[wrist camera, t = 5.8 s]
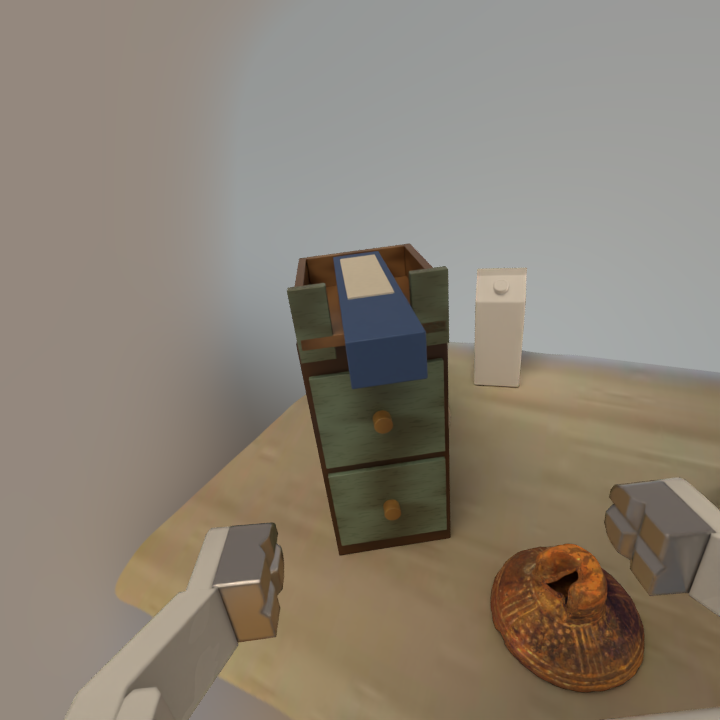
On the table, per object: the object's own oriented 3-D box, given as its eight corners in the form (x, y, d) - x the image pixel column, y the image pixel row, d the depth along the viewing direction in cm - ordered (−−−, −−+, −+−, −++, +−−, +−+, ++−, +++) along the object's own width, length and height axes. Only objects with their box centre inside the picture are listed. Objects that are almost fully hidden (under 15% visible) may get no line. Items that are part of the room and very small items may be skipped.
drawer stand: (425, 464, 54) (414, 233, 40) (455, 551, 43) (453, 269, 29) (335, 478, 54) (292, 250, 40) (340, 569, 42) (282, 292, 28)
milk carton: (476, 364, 76) (478, 262, 67) (517, 366, 73) (525, 261, 65) (473, 385, 70) (475, 276, 61) (518, 388, 68) (527, 275, 59)
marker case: (381, 281, 41) (378, 249, 39) (428, 378, 23) (426, 328, 22) (337, 287, 41) (332, 255, 39) (351, 390, 23) (344, 340, 22)
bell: (679, 682, 31) (706, 625, 28) (523, 710, 30) (532, 656, 27) (587, 548, 41) (599, 495, 38) (470, 567, 41) (471, 516, 37)
